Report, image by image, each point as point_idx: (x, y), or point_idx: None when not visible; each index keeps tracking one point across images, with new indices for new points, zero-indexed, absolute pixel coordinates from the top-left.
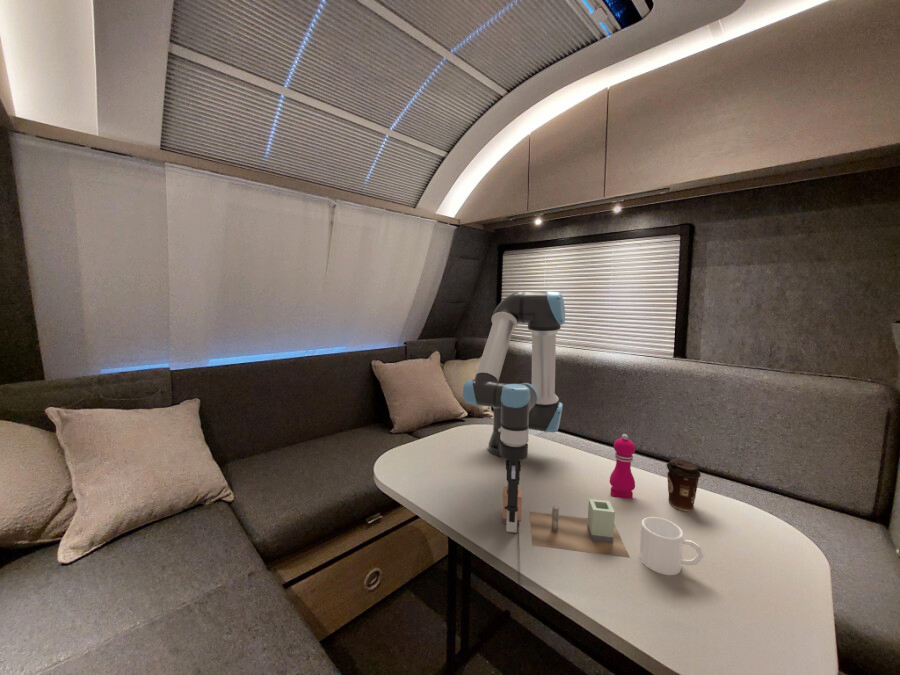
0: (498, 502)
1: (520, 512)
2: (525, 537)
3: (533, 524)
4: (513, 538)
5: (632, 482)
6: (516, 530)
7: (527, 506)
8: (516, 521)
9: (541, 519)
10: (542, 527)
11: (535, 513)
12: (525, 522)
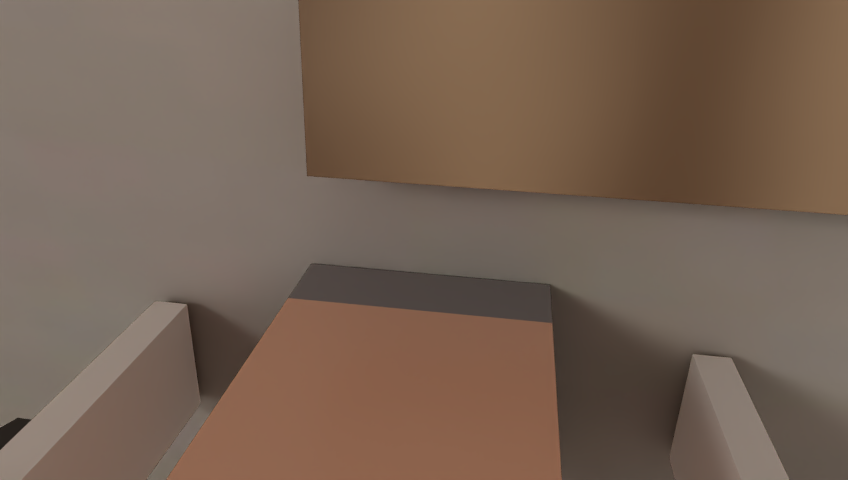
0: None
1: (554, 407)
2: (809, 256)
3: (650, 158)
4: (821, 393)
5: None
6: (739, 379)
7: (88, 150)
8: (781, 474)
9: (495, 3)
10: (734, 14)
11: (336, 89)
12: (471, 219)
